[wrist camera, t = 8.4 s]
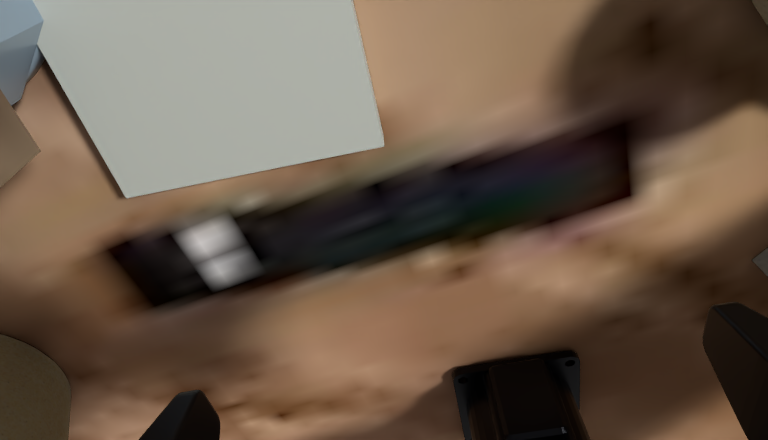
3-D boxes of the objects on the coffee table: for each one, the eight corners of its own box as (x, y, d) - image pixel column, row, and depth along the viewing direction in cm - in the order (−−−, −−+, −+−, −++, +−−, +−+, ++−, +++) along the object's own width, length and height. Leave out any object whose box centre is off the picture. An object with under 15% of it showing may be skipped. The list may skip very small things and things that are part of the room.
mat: (383, 134, 20) (384, 146, 19) (135, 184, 21) (126, 198, 20) (308, -195, 14) (305, -199, 13) (-27, -107, 15) (-49, -105, 14)
